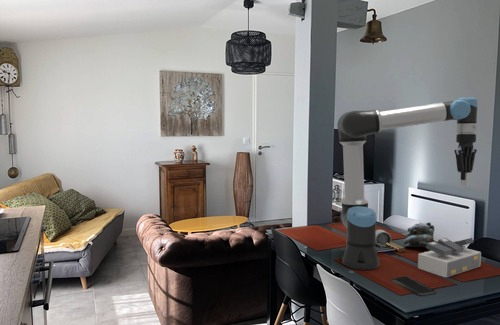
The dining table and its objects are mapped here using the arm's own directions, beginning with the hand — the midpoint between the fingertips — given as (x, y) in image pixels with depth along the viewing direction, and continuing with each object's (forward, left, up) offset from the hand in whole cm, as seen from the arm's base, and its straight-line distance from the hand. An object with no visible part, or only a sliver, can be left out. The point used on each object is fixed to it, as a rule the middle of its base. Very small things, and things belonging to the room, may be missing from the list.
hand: (464, 187), depth 171 cm
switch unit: (-18, -5, -31) cm, 36 cm away
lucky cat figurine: (-5, +19, -32) cm, 37 cm away
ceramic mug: (-18, +31, -32) cm, 48 cm away
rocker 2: (-18, -5, -22) cm, 29 cm away
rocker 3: (-10, -5, -22) cm, 25 cm away
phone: (-48, -10, -32) cm, 58 cm away
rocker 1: (-25, -5, -22) cm, 34 cm away
